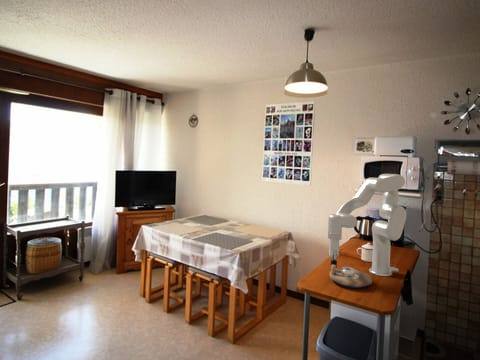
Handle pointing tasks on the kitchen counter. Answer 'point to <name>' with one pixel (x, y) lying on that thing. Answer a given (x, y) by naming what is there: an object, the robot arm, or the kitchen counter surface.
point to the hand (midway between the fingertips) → (333, 267)
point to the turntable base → (350, 286)
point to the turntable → (357, 280)
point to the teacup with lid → (366, 252)
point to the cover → (348, 272)
